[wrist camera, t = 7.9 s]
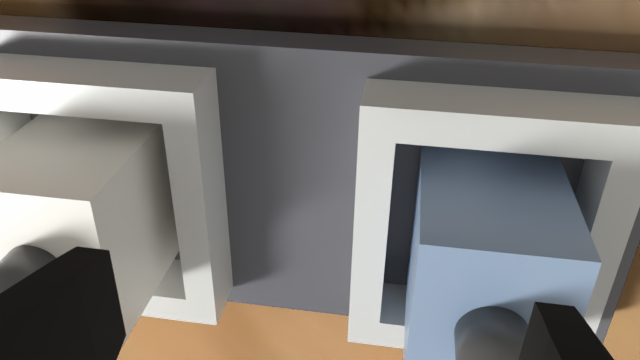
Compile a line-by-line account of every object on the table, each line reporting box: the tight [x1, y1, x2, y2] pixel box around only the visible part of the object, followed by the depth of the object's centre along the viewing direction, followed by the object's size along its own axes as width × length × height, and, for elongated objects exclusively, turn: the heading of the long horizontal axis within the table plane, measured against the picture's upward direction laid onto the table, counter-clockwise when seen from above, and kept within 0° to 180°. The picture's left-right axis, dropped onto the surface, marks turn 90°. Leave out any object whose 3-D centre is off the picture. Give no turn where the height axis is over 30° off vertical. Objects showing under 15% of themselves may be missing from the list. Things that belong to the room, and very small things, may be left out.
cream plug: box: [0, 114, 179, 347], centre depth 17 cm, size 5×4×7 cm
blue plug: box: [403, 146, 602, 360], centre depth 16 cm, size 5×4×7 cm
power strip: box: [0, 15, 640, 349], centre depth 19 cm, size 10×24×4 cm, turn 89°
